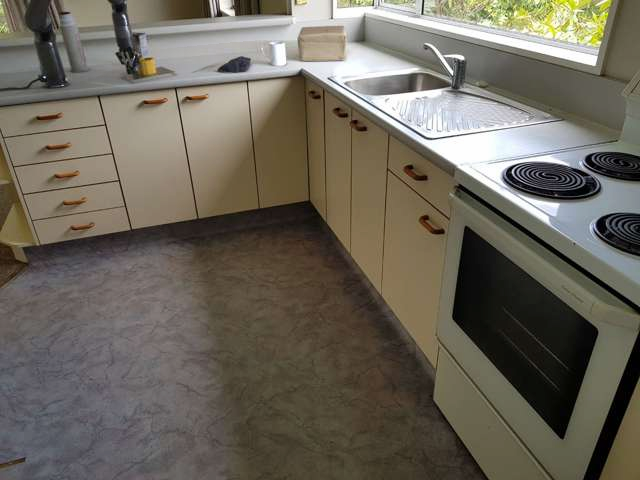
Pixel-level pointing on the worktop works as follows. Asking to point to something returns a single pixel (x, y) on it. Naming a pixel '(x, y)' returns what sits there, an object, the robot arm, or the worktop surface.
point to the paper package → (322, 43)
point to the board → (137, 76)
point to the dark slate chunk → (236, 65)
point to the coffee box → (140, 44)
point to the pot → (145, 66)
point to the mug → (276, 53)
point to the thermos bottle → (72, 43)
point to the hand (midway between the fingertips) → (132, 74)
